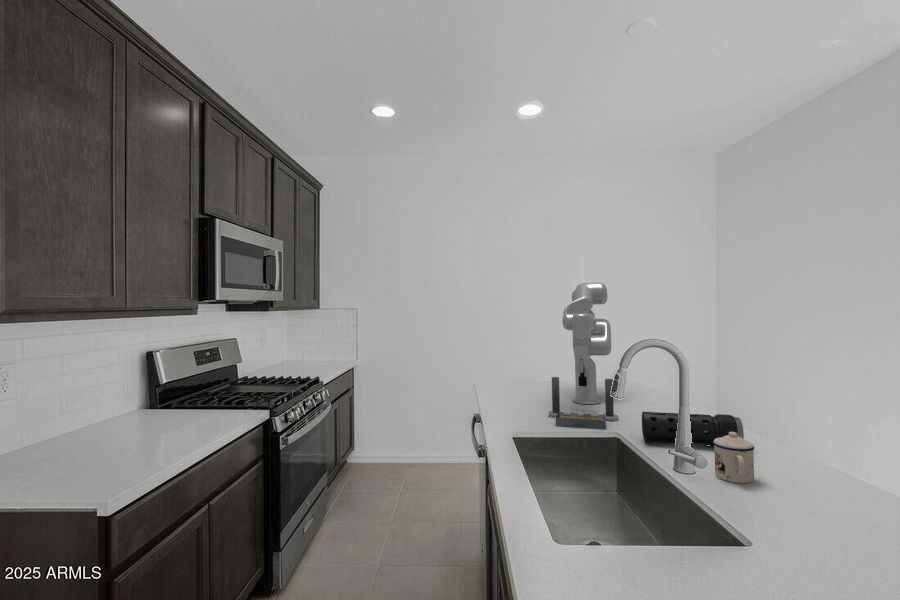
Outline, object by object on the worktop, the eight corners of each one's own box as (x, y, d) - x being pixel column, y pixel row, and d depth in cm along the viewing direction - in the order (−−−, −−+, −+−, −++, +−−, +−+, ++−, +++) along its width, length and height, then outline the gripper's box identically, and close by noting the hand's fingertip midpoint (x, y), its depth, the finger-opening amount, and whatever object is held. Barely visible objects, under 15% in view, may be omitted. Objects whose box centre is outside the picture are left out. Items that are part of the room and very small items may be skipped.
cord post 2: (601, 417, 183) (600, 377, 184) (618, 418, 181) (617, 378, 181) (601, 420, 177) (600, 380, 177) (618, 421, 175) (617, 380, 175)
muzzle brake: (642, 438, 153) (641, 407, 154) (735, 444, 145) (734, 412, 145) (645, 446, 144) (644, 414, 145) (745, 453, 136) (744, 419, 136)
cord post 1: (549, 413, 190) (548, 376, 191) (564, 414, 188) (564, 376, 188) (547, 417, 184) (546, 378, 185) (563, 418, 182) (562, 378, 182)
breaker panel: (558, 419, 180) (558, 407, 180) (605, 422, 174) (605, 409, 174) (555, 426, 171) (555, 412, 171) (605, 429, 165) (605, 415, 165)
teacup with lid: (710, 469, 122) (709, 427, 123) (749, 473, 119) (747, 429, 120) (721, 486, 111) (720, 439, 111) (764, 490, 108) (763, 442, 108)
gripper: (574, 341, 199) (574, 383, 198) (571, 343, 185) (572, 388, 184) (591, 341, 196) (592, 383, 196) (590, 343, 182) (591, 389, 182)
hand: (582, 385), depth 190 cm, fingers closed
